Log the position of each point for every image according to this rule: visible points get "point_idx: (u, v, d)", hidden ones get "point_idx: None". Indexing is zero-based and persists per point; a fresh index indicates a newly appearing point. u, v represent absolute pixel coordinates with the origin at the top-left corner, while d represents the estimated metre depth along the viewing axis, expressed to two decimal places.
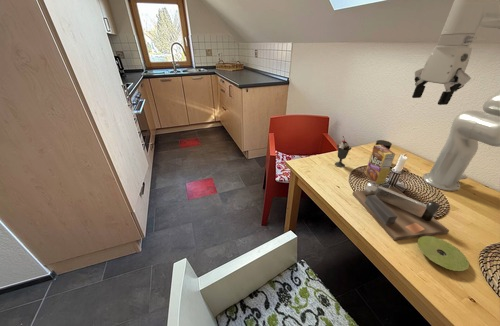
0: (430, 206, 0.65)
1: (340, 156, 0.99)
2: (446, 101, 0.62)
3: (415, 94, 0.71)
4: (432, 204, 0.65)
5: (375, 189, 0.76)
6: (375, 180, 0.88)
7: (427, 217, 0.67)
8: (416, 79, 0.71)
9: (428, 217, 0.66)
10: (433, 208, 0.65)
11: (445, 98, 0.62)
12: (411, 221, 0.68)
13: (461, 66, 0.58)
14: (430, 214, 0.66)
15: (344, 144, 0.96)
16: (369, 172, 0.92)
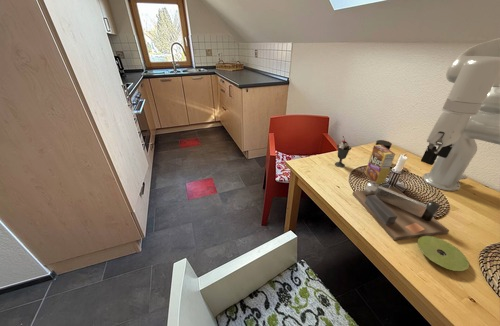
0: (430, 206, 0.65)
1: (340, 156, 0.99)
2: None
3: None
4: (432, 204, 0.65)
5: (375, 189, 0.76)
6: (375, 180, 0.88)
7: (427, 217, 0.67)
8: (435, 148, 0.60)
9: (428, 217, 0.66)
10: (433, 208, 0.65)
11: None
12: (411, 221, 0.68)
13: None
14: (430, 214, 0.66)
15: (344, 144, 0.96)
16: (369, 172, 0.92)
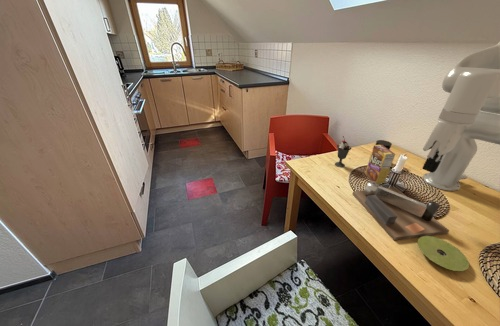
0: (430, 206, 0.65)
1: (340, 156, 0.99)
2: None
3: None
4: (432, 204, 0.65)
5: (375, 189, 0.76)
6: (375, 180, 0.88)
7: (427, 217, 0.67)
8: (436, 157, 0.63)
9: (428, 217, 0.66)
10: (433, 208, 0.65)
11: None
12: (411, 221, 0.68)
13: None
14: (430, 214, 0.66)
15: (344, 144, 0.96)
16: (369, 172, 0.92)
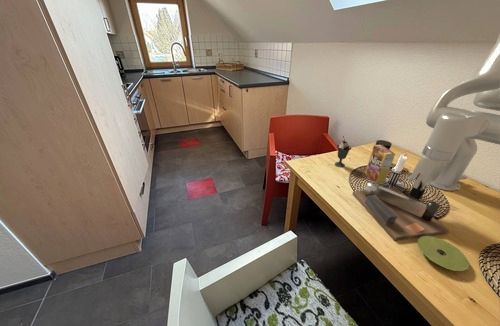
0: (430, 206, 0.65)
1: (340, 156, 0.99)
2: None
3: None
4: (432, 204, 0.65)
5: (375, 189, 0.76)
6: (375, 180, 0.88)
7: (427, 217, 0.67)
8: (421, 187, 0.69)
9: (428, 217, 0.66)
10: (433, 208, 0.65)
11: None
12: (411, 221, 0.68)
13: None
14: (430, 214, 0.66)
15: (344, 144, 0.96)
16: (369, 172, 0.92)
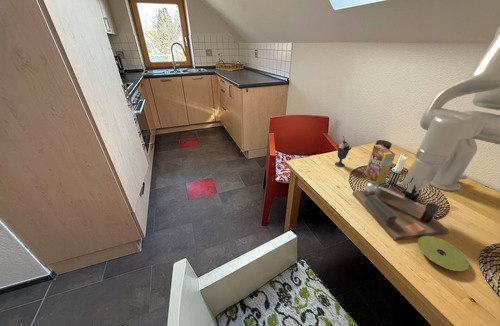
0: (429, 207, 0.64)
1: (340, 156, 0.99)
2: None
3: None
4: (431, 205, 0.64)
5: (375, 189, 0.76)
6: (375, 180, 0.88)
7: (426, 218, 0.66)
8: (415, 191, 0.67)
9: (427, 218, 0.66)
10: (432, 210, 0.64)
11: None
12: (411, 221, 0.68)
13: None
14: (429, 215, 0.65)
15: (344, 144, 0.96)
16: (369, 172, 0.92)
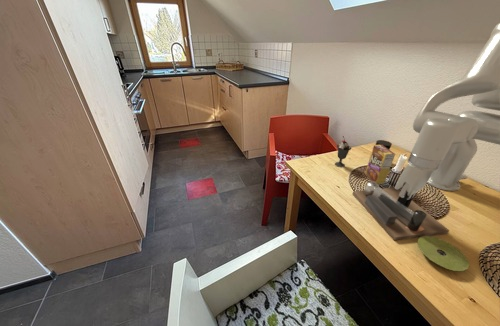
0: (415, 214, 0.62)
1: (340, 156, 0.99)
2: None
3: None
4: (418, 212, 0.62)
5: (372, 189, 0.76)
6: (375, 180, 0.88)
7: (411, 226, 0.63)
8: None
9: (412, 226, 0.63)
10: (417, 217, 0.61)
11: None
12: None
13: None
14: (414, 223, 0.63)
15: (344, 144, 0.96)
16: (369, 172, 0.92)
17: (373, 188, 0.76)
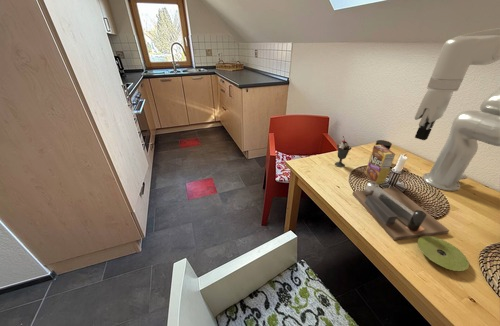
0: (415, 214, 0.62)
1: (340, 156, 0.99)
2: None
3: None
4: (417, 213, 0.62)
5: (372, 189, 0.76)
6: (375, 180, 0.88)
7: (411, 226, 0.63)
8: (427, 125, 0.67)
9: (412, 226, 0.63)
10: (416, 217, 0.61)
11: None
12: None
13: None
14: (414, 223, 0.63)
15: (344, 144, 0.96)
16: (369, 172, 0.92)
17: (373, 188, 0.76)
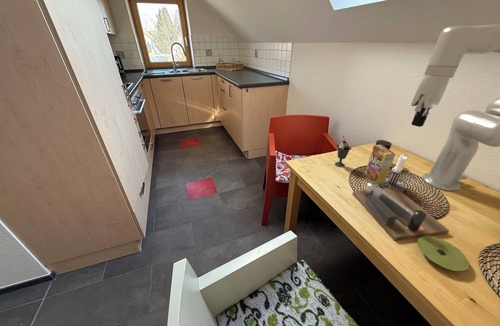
0: (415, 214, 0.62)
1: (340, 156, 0.99)
2: None
3: None
4: (417, 213, 0.62)
5: (372, 189, 0.76)
6: (375, 180, 0.88)
7: (411, 226, 0.63)
8: (423, 111, 0.70)
9: (412, 226, 0.63)
10: (416, 217, 0.61)
11: None
12: None
13: None
14: (414, 223, 0.63)
15: (344, 144, 0.96)
16: (369, 172, 0.92)
17: (373, 188, 0.76)
